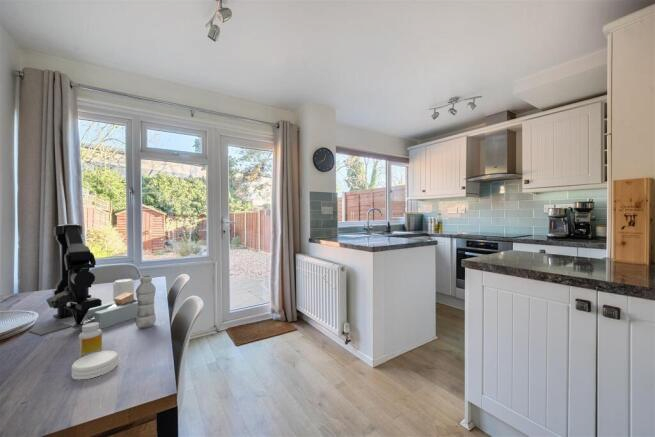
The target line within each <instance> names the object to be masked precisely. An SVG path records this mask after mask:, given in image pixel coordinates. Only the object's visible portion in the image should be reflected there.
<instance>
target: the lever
mask: <svg viewBox="0 0 655 437" xmlns="http://www.w3.org/2000/svg"><path fill="white" fill-rule="evenodd" d="M133 300H134V299H132V300H130V301H128V302H126V303H125V304H123V305H126V304H127V303H129V302H131V301H133ZM119 305H122V304H117V303H116V304H114V305H112V306H110V307H108V308H112V307H116V306H119ZM108 308H106V309H108ZM93 321H94V315H92V316H90V317H88V318H86V319H84V320H82V322H81V323H80V324H76V323H74V324H73V325H72V327H71V328H72V329H73V330H77V331H79V330H80V329H82V326H83V325H85V324H88V323H92V322H93Z"/></svg>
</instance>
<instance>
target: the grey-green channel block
mask: <svg viewBox="0 0 655 437" xmlns="http://www.w3.org/2000/svg"><path fill="white" fill-rule="evenodd" d="M114 304H116V303H115V301H113V300H112V301H110V302H107V303H106V302H105V303H102V305H101V306H98V307H94V308H90V309H89V310H88V312H87V313H86V315H85V317H84V318H83V320H84V319H86V318H88V317H90V316H92V315H94V321H93V322H98V323H99V328H98V329H101V330H102V329H104V328H107V327H110V326H114V325H116V324H120V323H123V322H126V321H128V320H129V321H130V320H133V319H136V317H137V310H138V304H137V297H134V300H133V301H131V302H129V303H127V304H126V305H119V306H116V307H112V308H108V307H110V306H112V305H114ZM106 308H108V309H106ZM93 322H92V323H93Z"/></svg>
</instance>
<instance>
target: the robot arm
mask: <svg viewBox="0 0 655 437" xmlns="http://www.w3.org/2000/svg"><path fill="white" fill-rule="evenodd" d="M82 235H83V225H80V224H78V223H65V224H58V225H57V226H54V227H53V236H54V237H55V240H56V241H57V243H58V244H59V245H60V279H58V281H57V283H56V284H55V289H54V290H53V292H52V296H51V297H48V298H47V299H46V303H47V305H48V306H49V307H50V308H53V309H56V311H57V314H53V315H52V316H53V317H55V318H58V319H64V318H67V317H73V319H74V323H75V324H80V323H81V322H82V320H83V318H84V317H85V315H86V313H87V312H88V310H89V309H90V308H94V307H98V306H101V305H102V304H103V303H102V300H101V298H97V297H92V295H91V294H90V291H89V290H90V288H92V284H93V283H94V282H95V280H96V275H94V273H93V272H91V271H90V269H95V267H96V264H97V262H96V259H95V255H94V253H93V252H91V249H90V247H89V246H87V245H85V244H84V242H83V238H82Z"/></svg>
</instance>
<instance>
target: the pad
mask: <svg viewBox="0 0 655 437" xmlns="http://www.w3.org/2000/svg"><path fill="white" fill-rule="evenodd" d="M72 326H73V325H72V324H68V323H66V322H62V321H59V322H58V321H57V322H54V323H51V324H48V325H47V324H46V325H45V326H41V327H37V328H33V329H29V330H28V332H30V333H32V334H35V335H38V336H41V337H42V336H45V335H48V334H51V333H52V334H53V333H55V332H59V331H61V330H62V331H63V330H65V329H68V328H72Z"/></svg>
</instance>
